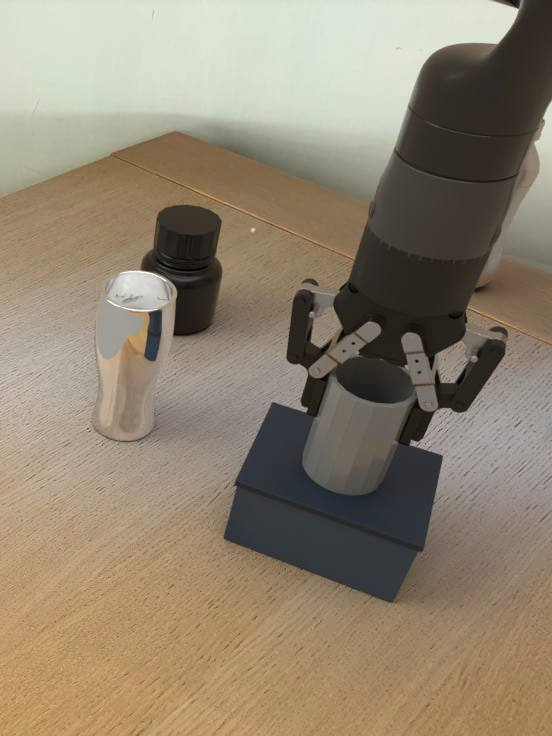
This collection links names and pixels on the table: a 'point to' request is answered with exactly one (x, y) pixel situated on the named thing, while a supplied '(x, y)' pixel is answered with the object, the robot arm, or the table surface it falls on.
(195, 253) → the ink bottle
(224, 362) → the table surface
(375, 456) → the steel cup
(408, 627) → the table surface
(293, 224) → the table surface
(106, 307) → the beer glass
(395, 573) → the storage box
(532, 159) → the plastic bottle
